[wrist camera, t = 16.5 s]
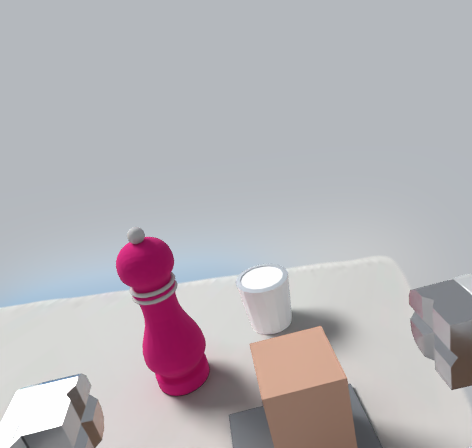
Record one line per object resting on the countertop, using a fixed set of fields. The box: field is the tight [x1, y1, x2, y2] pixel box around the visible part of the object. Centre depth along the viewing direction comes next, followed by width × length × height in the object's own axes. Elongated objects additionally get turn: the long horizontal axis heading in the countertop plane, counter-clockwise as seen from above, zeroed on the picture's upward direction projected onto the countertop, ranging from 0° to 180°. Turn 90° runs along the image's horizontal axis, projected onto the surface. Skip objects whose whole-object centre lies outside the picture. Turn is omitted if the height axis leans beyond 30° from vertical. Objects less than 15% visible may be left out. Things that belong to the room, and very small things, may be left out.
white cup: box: [236, 264, 292, 334], centre depth 56 cm, size 7×7×7 cm
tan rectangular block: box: [250, 326, 357, 448], centre depth 37 cm, size 7×7×10 cm
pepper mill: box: [116, 227, 209, 396], centre depth 47 cm, size 7×7×20 cm
